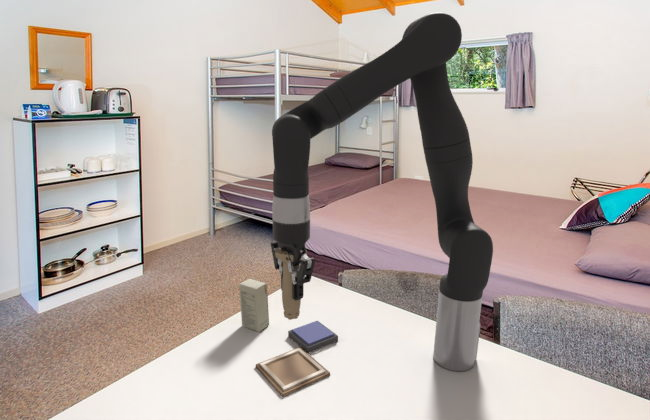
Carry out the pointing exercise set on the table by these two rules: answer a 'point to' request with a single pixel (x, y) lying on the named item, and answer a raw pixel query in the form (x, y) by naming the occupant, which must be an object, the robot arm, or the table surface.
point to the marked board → (292, 371)
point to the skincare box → (254, 304)
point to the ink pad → (312, 336)
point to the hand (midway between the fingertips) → (292, 294)
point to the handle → (288, 287)
